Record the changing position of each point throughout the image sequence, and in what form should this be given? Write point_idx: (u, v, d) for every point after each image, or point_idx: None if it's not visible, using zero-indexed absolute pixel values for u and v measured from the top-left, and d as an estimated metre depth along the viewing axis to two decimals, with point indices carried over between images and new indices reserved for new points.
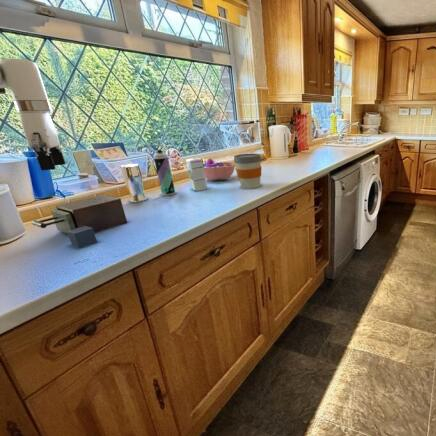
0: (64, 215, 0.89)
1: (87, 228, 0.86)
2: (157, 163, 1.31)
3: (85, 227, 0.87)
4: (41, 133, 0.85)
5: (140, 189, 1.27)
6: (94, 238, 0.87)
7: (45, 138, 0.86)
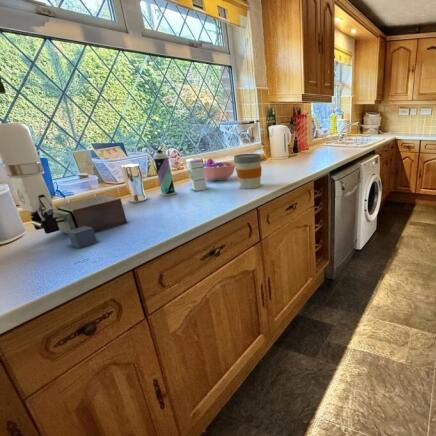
0: (64, 215, 0.89)
1: (87, 228, 0.86)
2: (157, 163, 1.31)
3: (85, 227, 0.87)
4: (46, 195, 0.84)
5: (140, 189, 1.27)
6: (94, 238, 0.87)
7: (50, 198, 0.85)
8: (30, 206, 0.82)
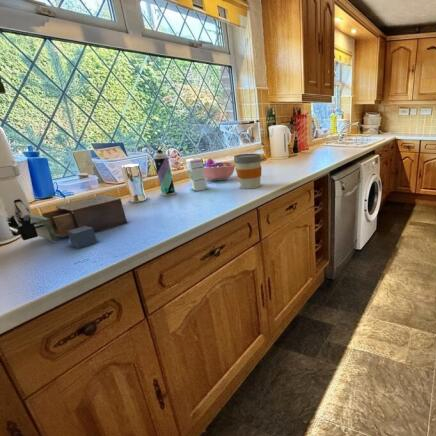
0: (43, 220, 0.85)
1: (87, 228, 0.86)
2: (157, 163, 1.31)
3: (85, 227, 0.87)
4: (23, 199, 0.80)
5: (140, 189, 1.27)
6: (94, 238, 0.87)
7: (27, 203, 0.81)
8: (5, 211, 0.78)
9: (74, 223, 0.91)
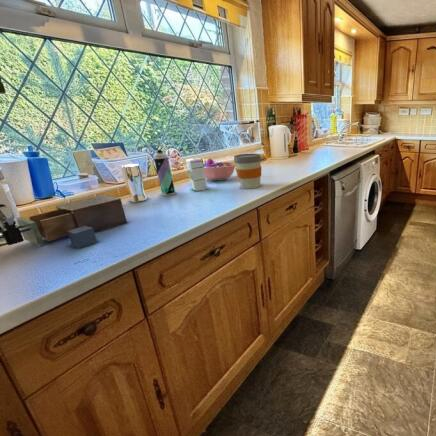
0: (29, 224, 0.83)
1: (87, 228, 0.86)
2: (157, 163, 1.31)
3: (85, 227, 0.87)
4: (7, 204, 0.78)
5: (140, 189, 1.27)
6: (94, 238, 0.87)
7: (11, 208, 0.78)
8: None
9: (62, 226, 0.89)
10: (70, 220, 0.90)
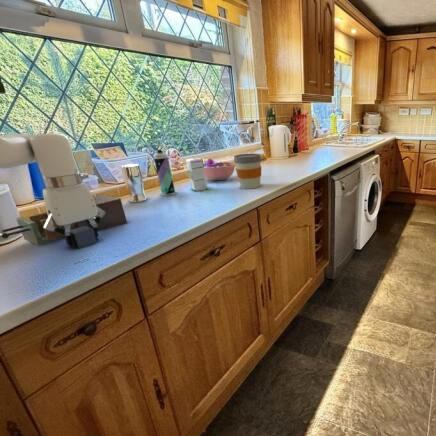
0: (29, 224, 0.83)
1: (87, 228, 0.86)
2: (157, 163, 1.31)
3: (85, 227, 0.87)
4: (51, 211, 0.78)
5: (140, 189, 1.27)
6: (94, 238, 0.87)
7: (54, 216, 0.79)
8: None
9: None
10: None
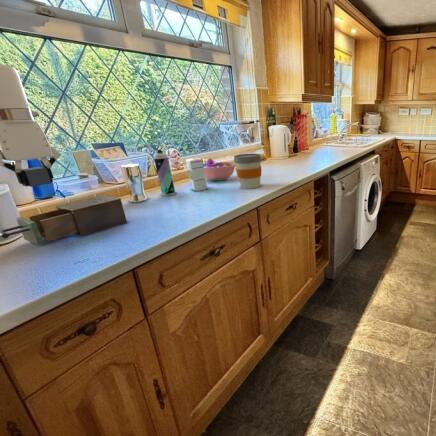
0: (29, 224, 0.83)
1: (40, 168, 0.85)
2: (157, 163, 1.31)
3: (39, 167, 0.86)
4: None
5: (140, 189, 1.27)
6: (48, 178, 0.86)
7: (2, 150, 0.78)
8: None
9: (62, 226, 0.89)
10: (70, 220, 0.90)
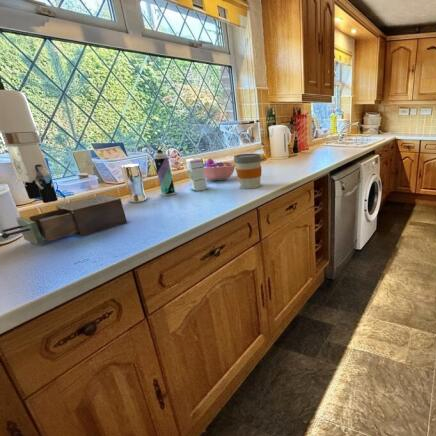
0: (29, 224, 0.83)
1: (53, 216, 0.91)
2: (157, 163, 1.31)
3: (46, 217, 0.90)
4: (43, 165, 0.83)
5: (140, 189, 1.27)
6: None
7: (47, 169, 0.84)
8: (27, 176, 0.81)
9: (62, 226, 0.89)
10: (70, 220, 0.90)
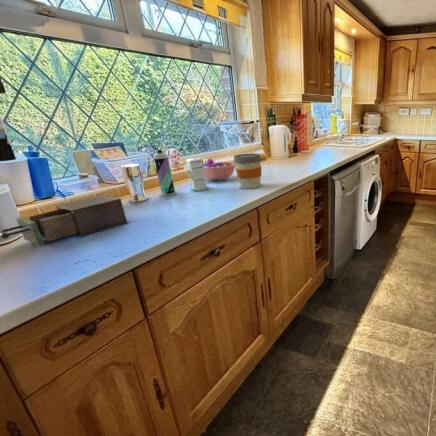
0: (29, 224, 0.83)
1: (53, 216, 0.91)
2: (157, 163, 1.31)
3: (46, 217, 0.90)
4: None
5: (140, 189, 1.27)
6: None
7: (3, 124, 0.78)
8: None
9: (62, 226, 0.89)
10: (70, 220, 0.90)
